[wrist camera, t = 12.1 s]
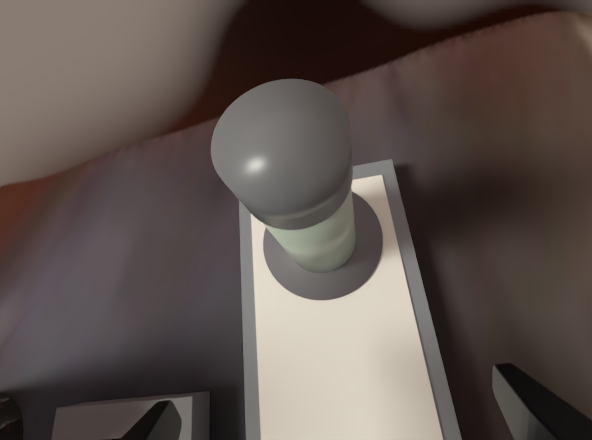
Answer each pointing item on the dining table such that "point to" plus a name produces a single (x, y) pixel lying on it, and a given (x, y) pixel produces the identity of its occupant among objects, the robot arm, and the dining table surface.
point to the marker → (292, 168)
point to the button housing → (129, 417)
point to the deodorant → (10, 420)
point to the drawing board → (343, 332)
